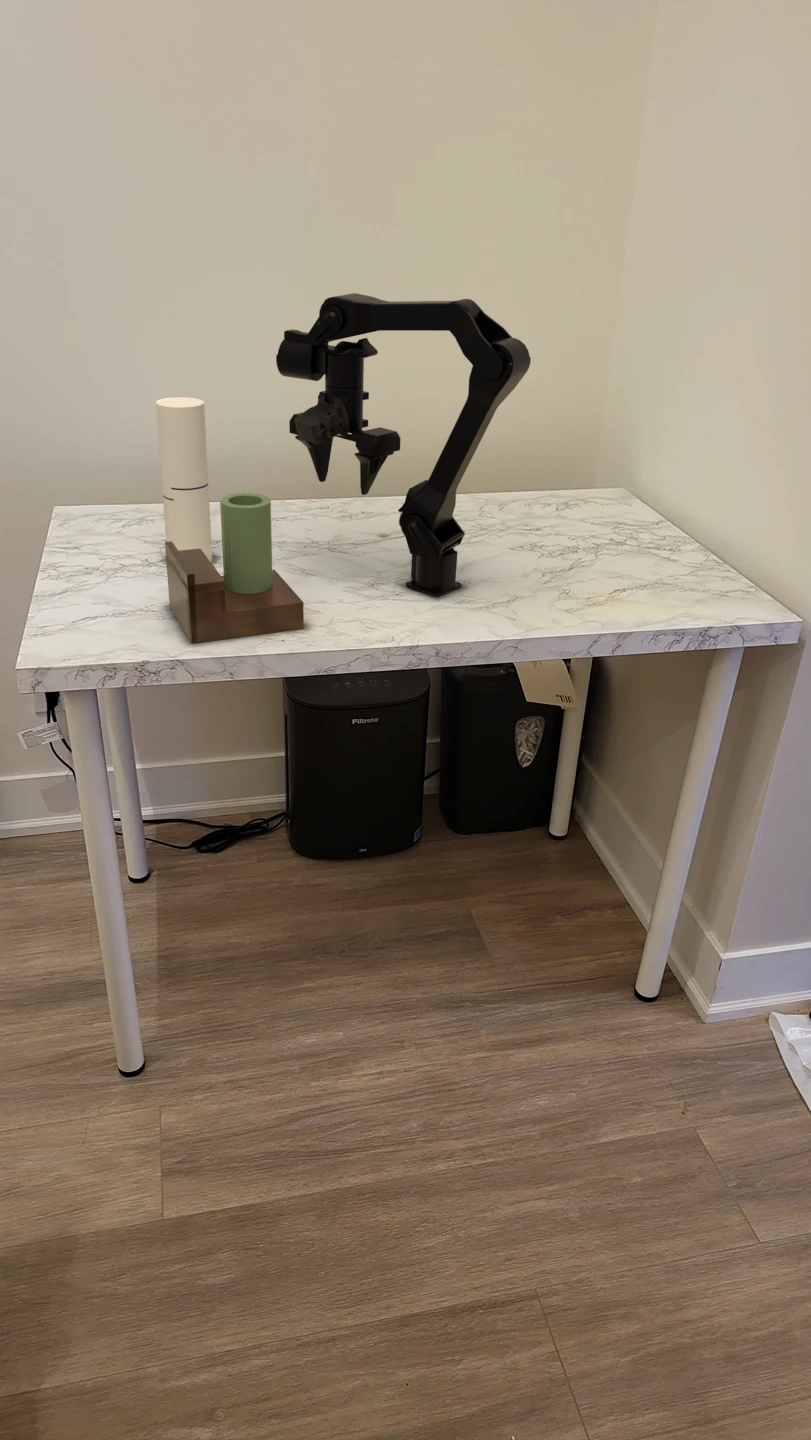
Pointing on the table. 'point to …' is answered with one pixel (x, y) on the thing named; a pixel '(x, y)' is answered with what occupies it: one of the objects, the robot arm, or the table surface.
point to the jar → (246, 542)
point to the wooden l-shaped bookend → (225, 601)
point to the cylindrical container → (184, 473)
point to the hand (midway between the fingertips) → (343, 487)
